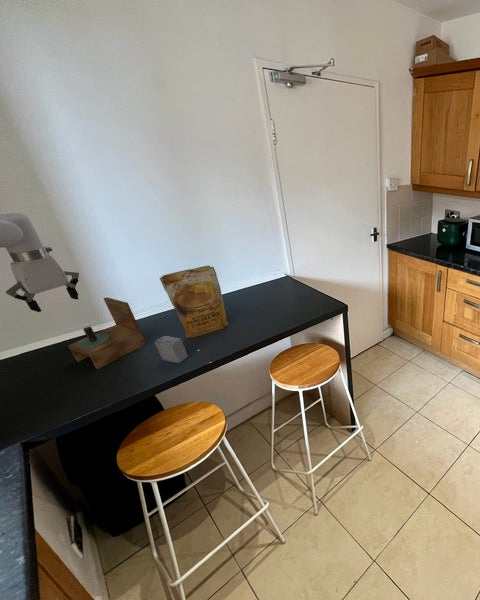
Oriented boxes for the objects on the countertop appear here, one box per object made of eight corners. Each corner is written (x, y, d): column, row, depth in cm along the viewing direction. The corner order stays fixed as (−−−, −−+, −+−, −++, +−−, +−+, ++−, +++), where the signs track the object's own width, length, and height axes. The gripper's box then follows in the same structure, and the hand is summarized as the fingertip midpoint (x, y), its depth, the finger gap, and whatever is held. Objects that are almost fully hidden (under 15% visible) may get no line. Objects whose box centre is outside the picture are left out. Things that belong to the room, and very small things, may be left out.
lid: (87, 351, 111) (79, 337, 108) (72, 346, 114) (64, 332, 111) (115, 338, 119) (108, 324, 116) (101, 333, 122) (94, 320, 119)
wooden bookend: (97, 369, 113) (72, 324, 105) (76, 361, 118) (50, 317, 109) (146, 343, 127) (127, 302, 119) (126, 337, 132) (106, 297, 123)
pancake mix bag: (181, 334, 133) (157, 273, 121) (229, 320, 144) (212, 263, 131) (183, 341, 129) (159, 279, 116) (233, 326, 139) (216, 267, 127)
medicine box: (188, 356, 120) (181, 338, 116) (178, 364, 116) (170, 344, 112) (172, 353, 121) (164, 335, 118) (162, 360, 118) (153, 341, 114)
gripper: (58, 246, 104) (82, 292, 112) (-18, 262, 90) (15, 314, 98) (71, 248, 102) (94, 295, 110) (-5, 265, 88) (27, 318, 95)
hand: (57, 304), depth 104 cm, fingers open, 9 cm apart
